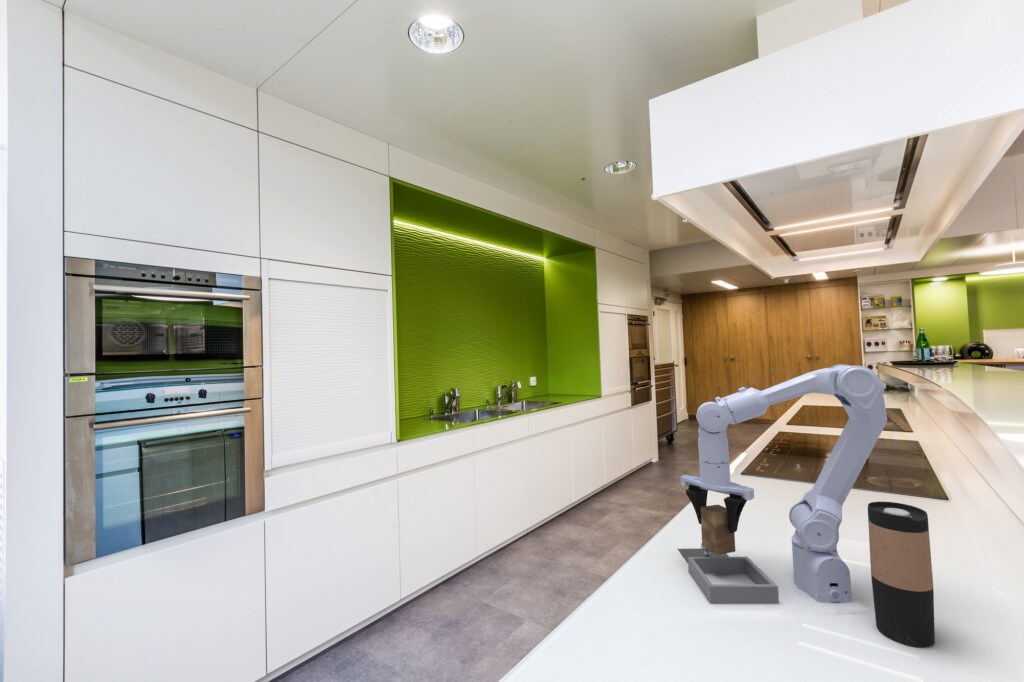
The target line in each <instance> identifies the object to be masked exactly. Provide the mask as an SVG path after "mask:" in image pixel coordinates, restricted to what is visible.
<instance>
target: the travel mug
mask: <svg viewBox="0 0 1024 682" xmlns="http://www.w3.org/2000/svg"><path fill="white" fill-rule="evenodd" d="M867 519H868V520H867V523H868V540H869V541H868V543H869V560H870V562H869V563H870V564H869V565H870V576H871V586H872V597H873V605H874V606H873V608H874V616H875V625H876V628H877V630H878V631H879V632H880V633H881V634H882V635H883V636H885V638H886V637H887V638H888V639H890V640H892V641H894V642H897V643H899V644H902V645H905V646H908V647H913V648H922V649H925V648H930V647H933V646H934V645H935V639H936V637H935V636H936V635H935V633H936V632H935V629H936V628H935V600H934V599H935V597H934V596H935V595H934V592H935V591H934V580H933V579H934V577H933V566H932V556H931V554H932V551H931V542H930V529H929V528H930V527H929V516H928V513H927V511H925V510H924V509H923V508H921V507H917V506H914V505H909V504H906V503H905V504H904V503H902V502H901V503H900V502H894V501H893V502H892V501H871V502H869V503H867Z"/></svg>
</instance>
